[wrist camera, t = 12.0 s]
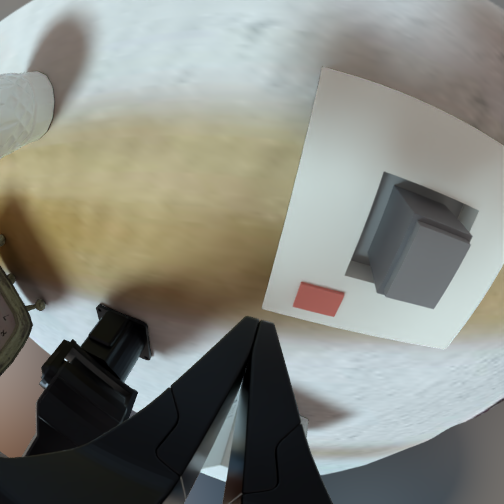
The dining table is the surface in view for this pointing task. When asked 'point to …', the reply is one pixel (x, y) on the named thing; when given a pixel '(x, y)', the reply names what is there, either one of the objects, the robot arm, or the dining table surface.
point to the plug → (416, 249)
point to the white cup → (24, 109)
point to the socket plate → (373, 205)
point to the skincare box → (227, 445)
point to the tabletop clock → (13, 319)
